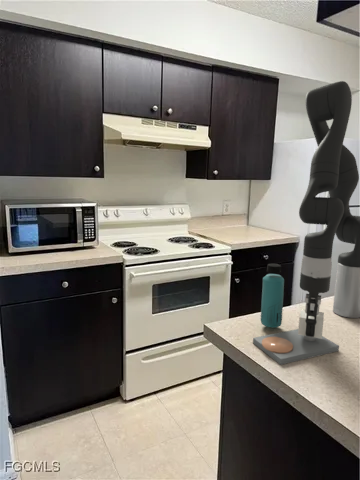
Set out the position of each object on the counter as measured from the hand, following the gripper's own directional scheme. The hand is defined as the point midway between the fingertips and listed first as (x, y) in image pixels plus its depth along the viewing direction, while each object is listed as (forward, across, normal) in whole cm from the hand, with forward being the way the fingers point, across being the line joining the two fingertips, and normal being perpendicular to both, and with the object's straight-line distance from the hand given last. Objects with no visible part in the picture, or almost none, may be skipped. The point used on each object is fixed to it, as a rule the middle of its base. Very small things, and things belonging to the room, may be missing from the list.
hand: (310, 330), depth 95 cm
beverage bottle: (+4, -6, -12) cm, 14 cm away
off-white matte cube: (0, 0, 0) cm, 0 cm away
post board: (+4, +4, -4) cm, 6 cm away
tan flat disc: (+2, +8, -8) cm, 11 cm away
